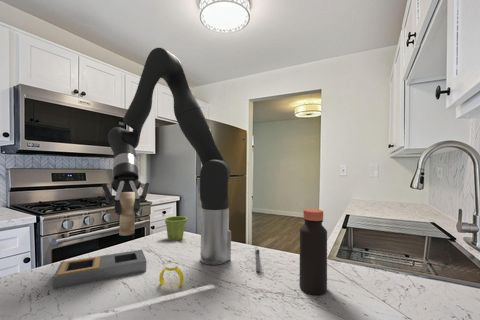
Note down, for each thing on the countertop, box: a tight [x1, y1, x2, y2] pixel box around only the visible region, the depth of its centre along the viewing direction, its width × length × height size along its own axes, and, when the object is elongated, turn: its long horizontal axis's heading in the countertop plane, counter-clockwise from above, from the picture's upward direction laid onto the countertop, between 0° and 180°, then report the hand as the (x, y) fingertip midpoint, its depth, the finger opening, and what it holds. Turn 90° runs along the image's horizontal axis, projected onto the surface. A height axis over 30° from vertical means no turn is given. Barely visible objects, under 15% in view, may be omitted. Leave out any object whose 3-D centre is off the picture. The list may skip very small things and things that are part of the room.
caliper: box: [254, 245, 260, 272], centre depth 79 cm, size 20×1×6 cm, turn 178°
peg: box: [118, 192, 136, 237], centre depth 69 cm, size 4×4×12 cm
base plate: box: [52, 249, 147, 291], centre depth 66 cm, size 21×10×4 cm, turn 119°
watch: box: [159, 263, 184, 288], centre depth 59 cm, size 6×3×6 cm, turn 78°
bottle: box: [298, 208, 328, 296], centre depth 60 cm, size 7×7×20 cm
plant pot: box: [163, 216, 188, 241], centre depth 99 cm, size 9×9×9 cm
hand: (127, 212), depth 67 cm, fingers closed on peg, 4 cm apart
